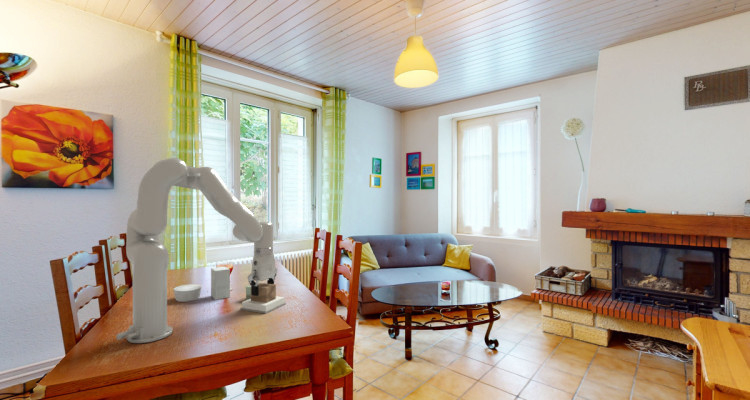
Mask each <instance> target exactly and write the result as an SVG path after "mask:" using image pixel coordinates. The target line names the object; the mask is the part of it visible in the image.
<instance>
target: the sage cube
mask: <svg viewBox="0 0 750 400" xmlns="http://www.w3.org/2000/svg"><path fill="white" fill-rule="evenodd" d="M249 299H251V286H250V284H249V285H247V286H245V301H246V300H249Z"/></svg>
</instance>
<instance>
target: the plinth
mask: <svg viewBox="0 0 750 400" xmlns="http://www.w3.org/2000/svg"><path fill="white" fill-rule="evenodd" d="M285 305H287V304H286V302H285V297H284V296H278V295H276V299H274V300H272V301H270V302H268V303H264V302H257V301H251V299H249V300H246V299H245V300H244V301H242V303H241V307H240V310H241V311H247V312H254V313H259V314H268V313H270V312H273V311H275V310H277V309H278V308H281V307H283V306H285Z"/></svg>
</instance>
